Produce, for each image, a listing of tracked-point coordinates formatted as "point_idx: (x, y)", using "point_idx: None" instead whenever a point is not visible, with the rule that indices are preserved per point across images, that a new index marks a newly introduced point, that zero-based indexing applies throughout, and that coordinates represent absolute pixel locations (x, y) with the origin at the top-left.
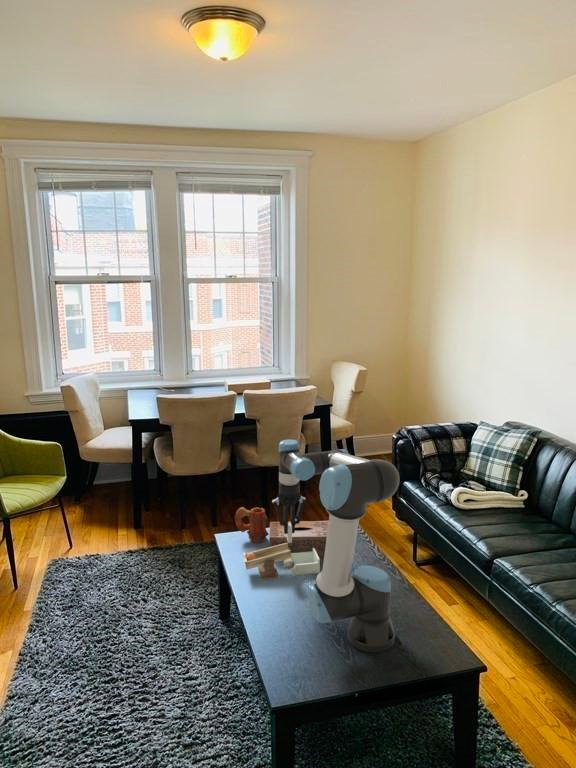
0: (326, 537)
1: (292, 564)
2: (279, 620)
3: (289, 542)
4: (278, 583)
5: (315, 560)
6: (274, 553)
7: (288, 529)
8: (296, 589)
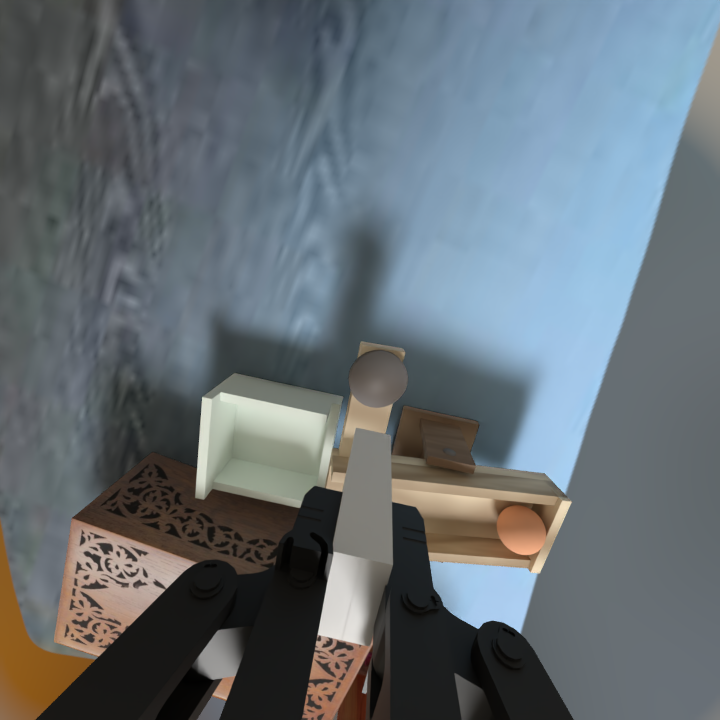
0: (105, 524)
1: (365, 365)
2: (544, 88)
3: (378, 433)
4: (420, 371)
5: (222, 427)
6: None
7: (386, 529)
8: (368, 300)
